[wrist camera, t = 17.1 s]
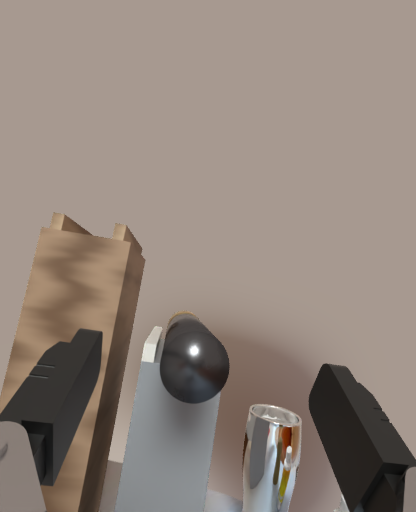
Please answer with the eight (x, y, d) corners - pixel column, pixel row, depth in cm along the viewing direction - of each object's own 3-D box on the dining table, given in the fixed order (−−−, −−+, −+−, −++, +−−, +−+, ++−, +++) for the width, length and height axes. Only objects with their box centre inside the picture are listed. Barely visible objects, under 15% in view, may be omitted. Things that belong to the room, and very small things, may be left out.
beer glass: (288, 581, 32) (303, 431, 34) (225, 553, 34) (243, 414, 36) (291, 536, 38) (303, 412, 40) (238, 515, 40) (252, 399, 43)
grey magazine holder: (85, 671, 22) (144, 342, 25) (120, 525, 36) (155, 326, 39) (180, 675, 22) (225, 354, 26) (178, 530, 36) (207, 333, 40)
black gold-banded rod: (222, 409, 17) (235, 337, 18) (151, 397, 17) (167, 324, 17) (195, 344, 39) (201, 313, 40) (164, 338, 39) (171, 307, 40)
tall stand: (-59, 640, 22) (45, 211, 27) (30, 508, 36) (88, 239, 41) (51, 646, 23) (133, 226, 28) (97, 514, 37) (147, 249, 42)
